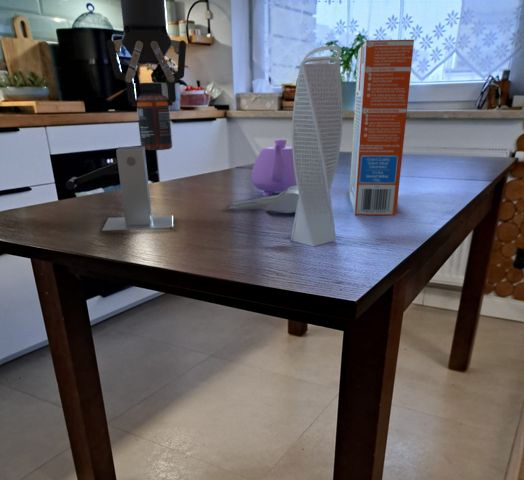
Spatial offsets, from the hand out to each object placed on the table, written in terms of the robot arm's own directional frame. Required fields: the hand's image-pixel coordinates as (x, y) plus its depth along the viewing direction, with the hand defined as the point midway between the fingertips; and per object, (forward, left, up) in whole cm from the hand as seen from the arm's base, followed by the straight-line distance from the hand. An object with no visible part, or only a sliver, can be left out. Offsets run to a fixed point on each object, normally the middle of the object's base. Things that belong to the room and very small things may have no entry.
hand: (152, 105), depth 95 cm
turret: (+23, -1, -20) cm, 31 cm away
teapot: (+28, +21, -20) cm, 41 cm away
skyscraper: (+25, -25, -20) cm, 41 cm away
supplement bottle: (0, 0, -8) cm, 8 cm away
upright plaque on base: (-4, -11, -20) cm, 23 cm away
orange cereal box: (+45, +3, -20) cm, 49 cm away
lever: (-8, -11, -11) cm, 18 cm away
